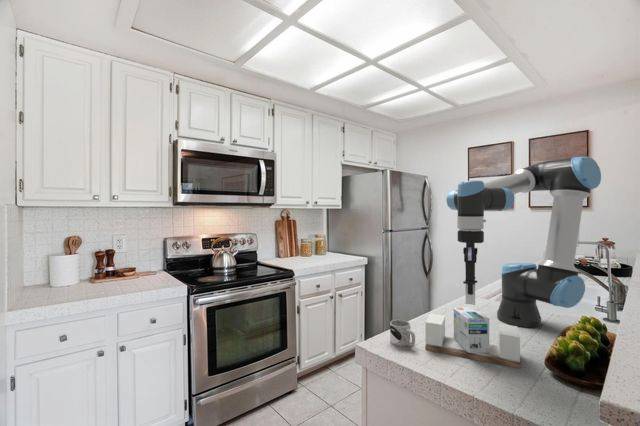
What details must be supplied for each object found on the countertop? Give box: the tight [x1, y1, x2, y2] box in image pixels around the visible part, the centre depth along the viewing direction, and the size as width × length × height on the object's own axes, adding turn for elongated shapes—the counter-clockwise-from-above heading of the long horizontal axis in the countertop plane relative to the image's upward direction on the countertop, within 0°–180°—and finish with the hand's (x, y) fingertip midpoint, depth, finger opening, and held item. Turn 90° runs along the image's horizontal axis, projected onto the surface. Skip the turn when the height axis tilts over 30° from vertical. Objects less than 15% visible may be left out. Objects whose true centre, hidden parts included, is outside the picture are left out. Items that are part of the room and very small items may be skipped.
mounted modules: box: [425, 313, 521, 362], centre depth 99 cm, size 26×9×7 cm, turn 62°
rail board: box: [425, 336, 521, 369], centre depth 99 cm, size 26×10×2 cm, turn 62°
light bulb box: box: [453, 306, 490, 353], centre depth 99 cm, size 11×7×11 cm, turn 1°
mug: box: [389, 319, 416, 348], centre depth 105 cm, size 10×7×7 cm, turn 28°
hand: (470, 303), depth 99 cm, fingers closed
